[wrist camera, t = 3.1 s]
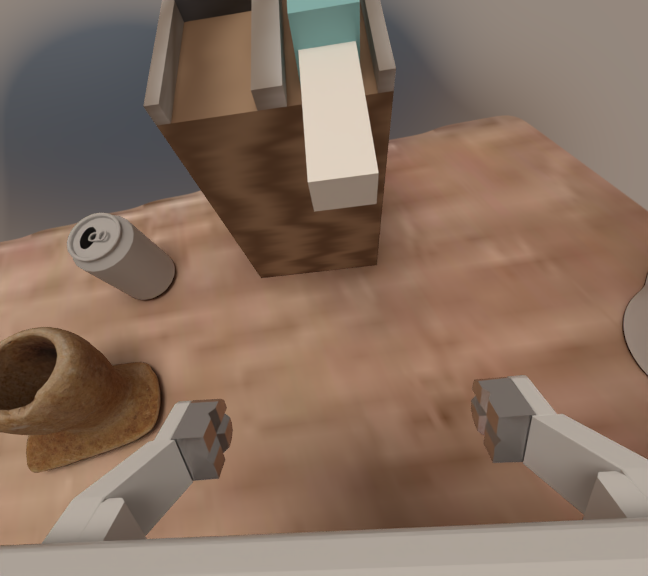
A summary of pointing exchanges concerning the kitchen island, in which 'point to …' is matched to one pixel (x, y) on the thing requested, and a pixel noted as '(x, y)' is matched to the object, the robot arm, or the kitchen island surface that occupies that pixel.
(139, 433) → the tan boot
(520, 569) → the robot arm
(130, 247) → the can
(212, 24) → the wooden desk organizer
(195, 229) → the kitchen island surface
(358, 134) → the teal and white bar
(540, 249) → the kitchen island surface
